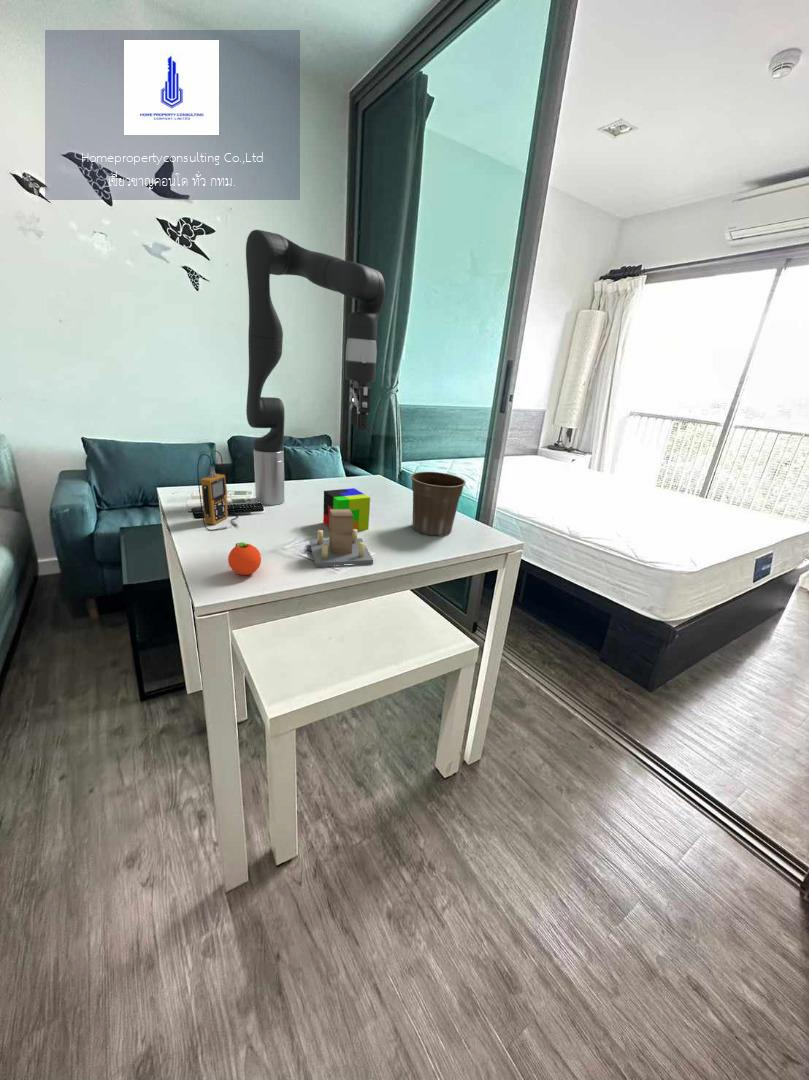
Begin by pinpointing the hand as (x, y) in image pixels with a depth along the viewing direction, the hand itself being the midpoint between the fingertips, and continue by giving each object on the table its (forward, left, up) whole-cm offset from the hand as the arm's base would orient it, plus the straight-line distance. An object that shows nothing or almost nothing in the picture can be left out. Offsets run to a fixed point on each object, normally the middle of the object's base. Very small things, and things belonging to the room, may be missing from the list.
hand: (358, 427), depth 114 cm
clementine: (+21, -29, -30) cm, 47 cm away
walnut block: (+13, -6, -29) cm, 32 cm away
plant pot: (-2, +25, -30) cm, 39 cm away
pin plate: (+13, -6, -30) cm, 33 cm away
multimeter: (-12, -34, -30) cm, 47 cm away
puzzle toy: (-7, -1, -30) cm, 31 cm away
